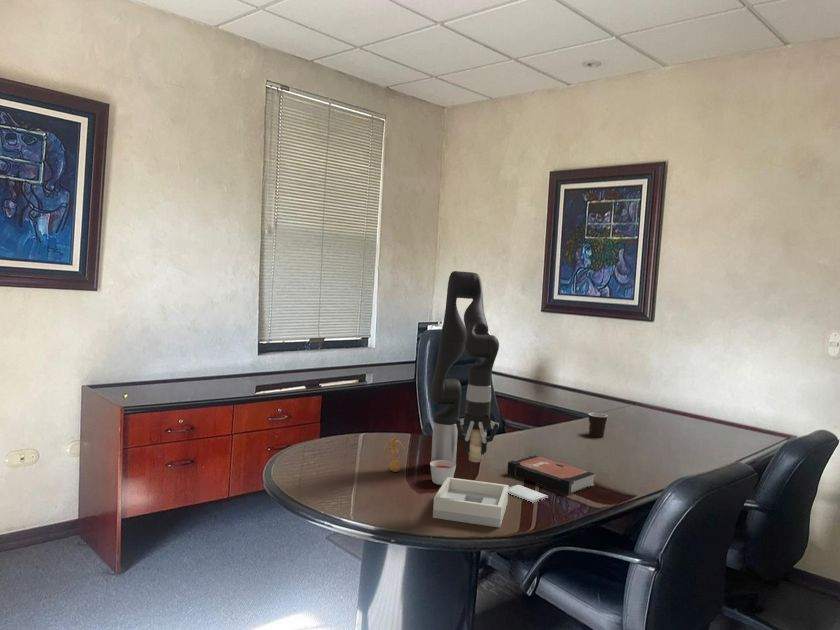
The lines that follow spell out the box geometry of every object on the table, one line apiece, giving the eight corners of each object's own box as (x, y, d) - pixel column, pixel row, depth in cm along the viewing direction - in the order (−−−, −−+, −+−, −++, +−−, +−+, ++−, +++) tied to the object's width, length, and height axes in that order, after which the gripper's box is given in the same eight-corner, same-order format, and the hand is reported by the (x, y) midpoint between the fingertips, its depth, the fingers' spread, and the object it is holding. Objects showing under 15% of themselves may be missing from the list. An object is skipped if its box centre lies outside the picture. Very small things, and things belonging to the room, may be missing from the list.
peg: (469, 457, 197) (471, 426, 197) (482, 459, 196) (484, 427, 196) (467, 461, 194) (469, 429, 193) (480, 462, 193) (482, 430, 192)
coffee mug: (602, 439, 287) (604, 418, 286) (584, 436, 291) (585, 414, 291) (610, 434, 296) (611, 413, 296) (592, 431, 301) (593, 410, 300)
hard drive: (503, 488, 211) (532, 500, 202) (519, 484, 216) (548, 494, 207) (503, 493, 211) (532, 505, 202) (518, 488, 217) (548, 499, 207)
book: (595, 485, 224) (596, 472, 223) (568, 496, 211) (569, 481, 211) (535, 466, 242) (536, 454, 242) (507, 475, 230) (508, 461, 230)
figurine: (386, 474, 223) (388, 441, 222) (380, 469, 228) (381, 437, 227) (407, 472, 227) (409, 439, 226) (400, 467, 232) (402, 435, 231)
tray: (446, 495, 205) (447, 477, 205) (507, 503, 201) (508, 485, 200) (432, 517, 186) (433, 497, 186) (500, 527, 181) (501, 507, 181)
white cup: (456, 479, 221) (457, 461, 221) (452, 487, 213) (453, 469, 212) (431, 476, 223) (432, 459, 223) (426, 484, 214) (427, 466, 214)
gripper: (503, 398, 196) (499, 452, 197) (458, 394, 199) (455, 447, 200) (500, 403, 188) (496, 459, 190) (453, 398, 192) (450, 453, 193)
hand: (475, 452), depth 195 cm, fingers closed on peg, 4 cm apart
